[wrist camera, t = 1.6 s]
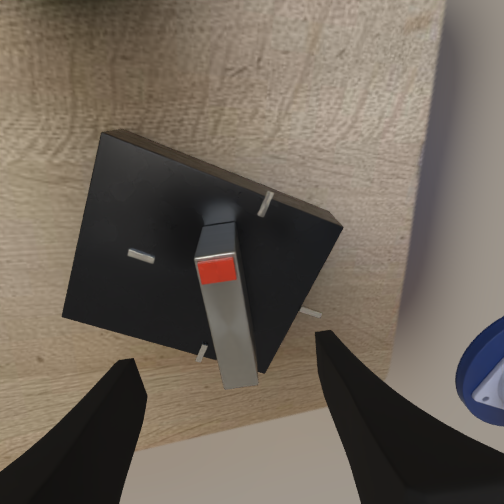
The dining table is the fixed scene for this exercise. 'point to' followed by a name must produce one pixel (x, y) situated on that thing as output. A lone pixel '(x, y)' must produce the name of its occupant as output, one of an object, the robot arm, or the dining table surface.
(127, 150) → the switch base
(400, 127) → the dining table surface
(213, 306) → the red-topped metal block
